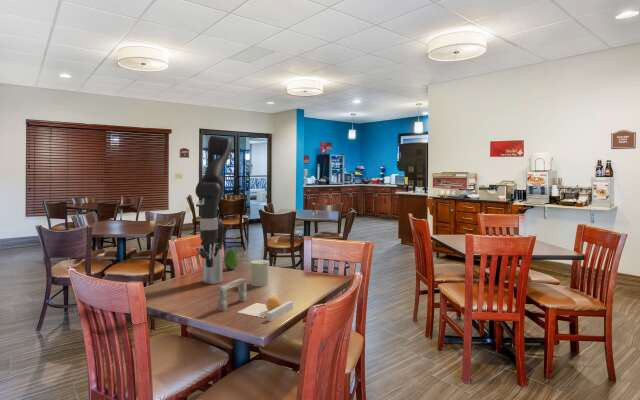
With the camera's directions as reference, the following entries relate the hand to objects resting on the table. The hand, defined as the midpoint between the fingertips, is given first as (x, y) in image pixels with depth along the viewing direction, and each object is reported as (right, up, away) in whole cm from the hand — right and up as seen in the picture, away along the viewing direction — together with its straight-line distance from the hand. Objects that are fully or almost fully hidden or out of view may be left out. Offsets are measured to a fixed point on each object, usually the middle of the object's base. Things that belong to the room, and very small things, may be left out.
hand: (209, 267), depth 172 cm
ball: (+30, -13, -13) cm, 35 cm away
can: (+18, -14, +28) cm, 36 cm away
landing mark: (+24, -16, -11) cm, 31 cm away
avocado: (-4, -12, +59) cm, 60 cm away
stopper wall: (+33, -16, -16) cm, 40 cm away
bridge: (+12, -15, -5) cm, 20 cm away
